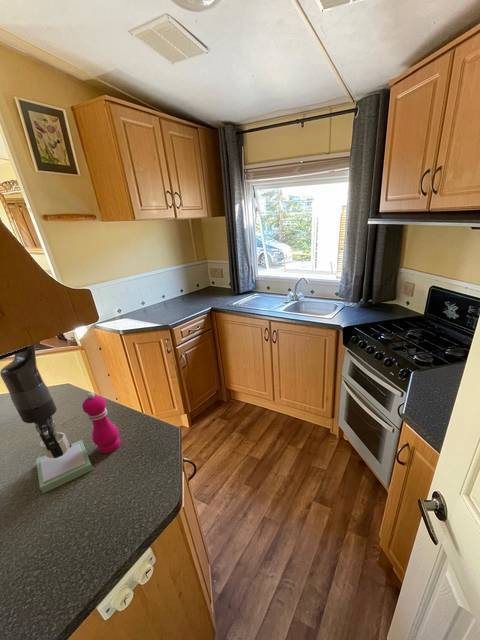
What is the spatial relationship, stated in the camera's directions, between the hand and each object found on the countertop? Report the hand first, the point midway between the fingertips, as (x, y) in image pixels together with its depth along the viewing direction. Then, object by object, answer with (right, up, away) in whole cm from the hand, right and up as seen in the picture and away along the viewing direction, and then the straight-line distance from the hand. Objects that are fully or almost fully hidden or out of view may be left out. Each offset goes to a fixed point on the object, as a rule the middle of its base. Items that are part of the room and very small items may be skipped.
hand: (57, 449), depth 82 cm
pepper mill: (+9, -2, +10) cm, 14 cm away
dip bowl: (0, -1, 0) cm, 1 cm away
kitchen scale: (0, -6, +3) cm, 7 cm away
